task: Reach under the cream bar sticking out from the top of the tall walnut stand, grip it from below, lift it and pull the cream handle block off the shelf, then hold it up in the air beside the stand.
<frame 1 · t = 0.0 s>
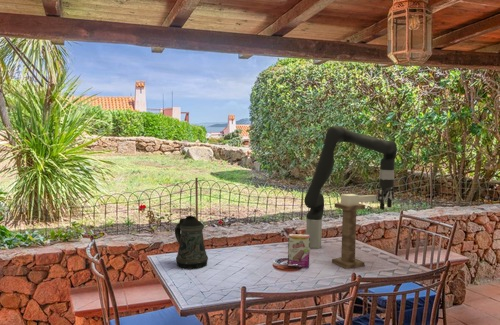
hand: (385, 208, 238), 29 cm above the table, tool pointing down, fingers open, 8 cm apart
stand: (347, 264, 235), on the table
candy bar box: (298, 266, 231), on the table
beer stein: (189, 264, 232), on the table
handle block: (349, 204, 233), point 32 cm above the table, touching stand
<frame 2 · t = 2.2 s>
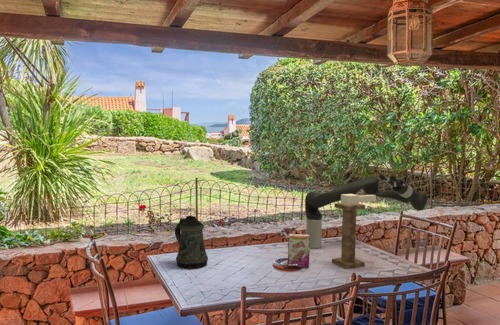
hand: (384, 176, 252), 45 cm above the table, tool pointing upward, fingers open, 8 cm apart
nothing on the table moved.
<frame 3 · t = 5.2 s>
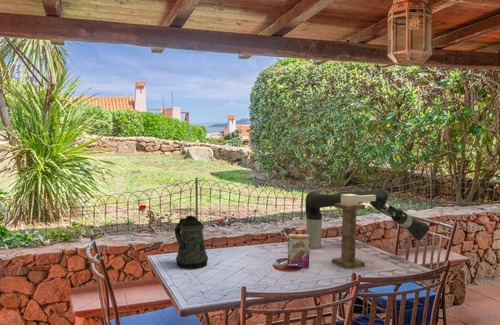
hand: (383, 205, 243), 30 cm above the table, tool pointing upward, fingers open, 8 cm apart
nothing on the table moved.
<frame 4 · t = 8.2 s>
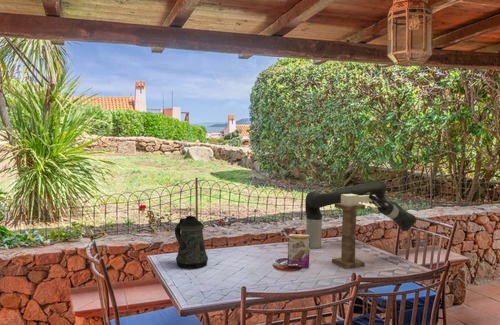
hand: (367, 195, 238), 36 cm above the table, tool pointing upward, fingers closed on handle block, 2 cm apart
handle block: (349, 204, 233), point 32 cm above the table, touching gripper, stand
everything else where it was.
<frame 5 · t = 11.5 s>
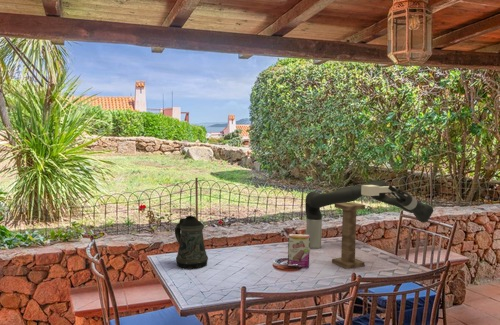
hand: (387, 186, 243), 40 cm above the table, tool pointing upward, fingers closed on handle block, 2 cm apart
handle block: (370, 194, 238), point 36 cm above the table, touching gripper
everything else where it was.
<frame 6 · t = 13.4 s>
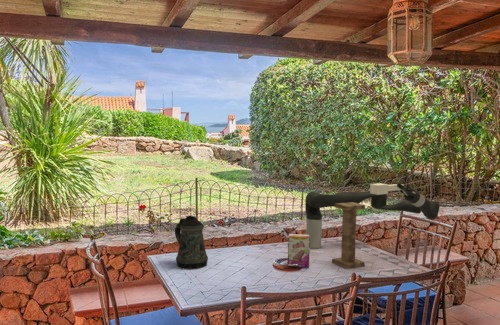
hand: (395, 184, 246), 41 cm above the table, tool pointing upward, fingers closed on handle block, 2 cm apart
handle block: (378, 193, 241), point 37 cm above the table, touching gripper
everything else where it was.
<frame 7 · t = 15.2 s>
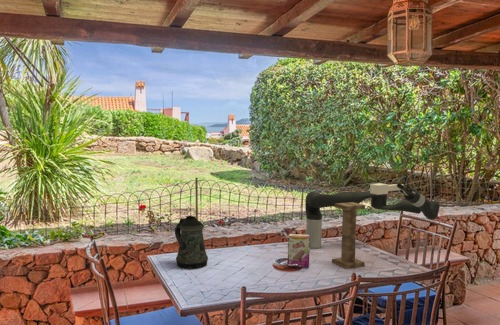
hand: (395, 184, 246), 41 cm above the table, tool pointing upward, fingers closed on handle block, 2 cm apart
handle block: (378, 193, 241), point 37 cm above the table, touching gripper
everything else where it was.
at the end: handle block moved 20.1 cm from its start; handle block touching gripper; handle block point 36.7 cm above the table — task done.
